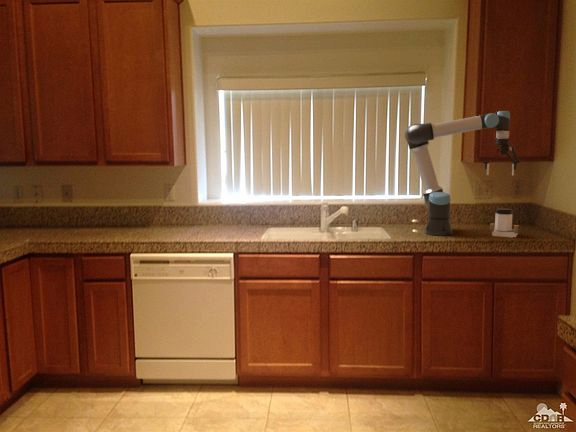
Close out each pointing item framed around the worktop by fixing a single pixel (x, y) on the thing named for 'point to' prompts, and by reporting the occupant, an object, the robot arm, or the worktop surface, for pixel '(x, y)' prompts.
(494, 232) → the cradle board
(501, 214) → the jar
